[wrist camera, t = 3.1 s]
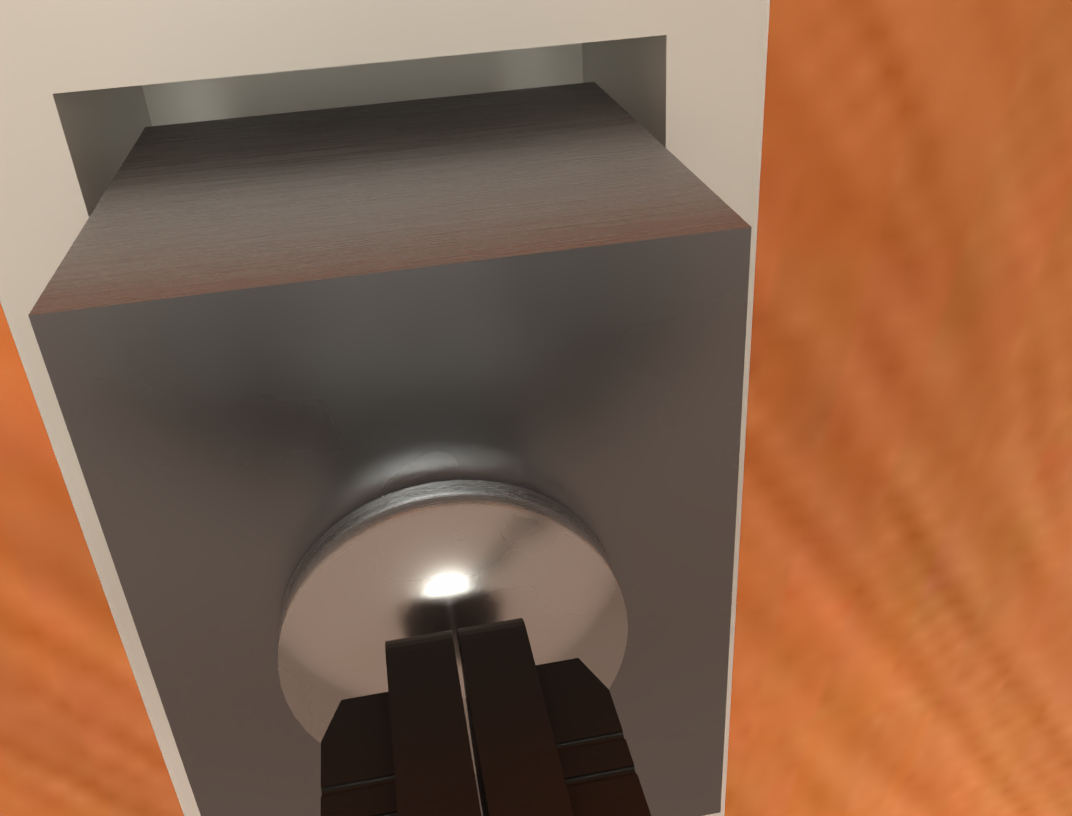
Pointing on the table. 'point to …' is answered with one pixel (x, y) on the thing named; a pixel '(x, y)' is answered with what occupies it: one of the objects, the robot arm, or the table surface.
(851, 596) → the table surface
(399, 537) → the grey button block
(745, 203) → the frame
